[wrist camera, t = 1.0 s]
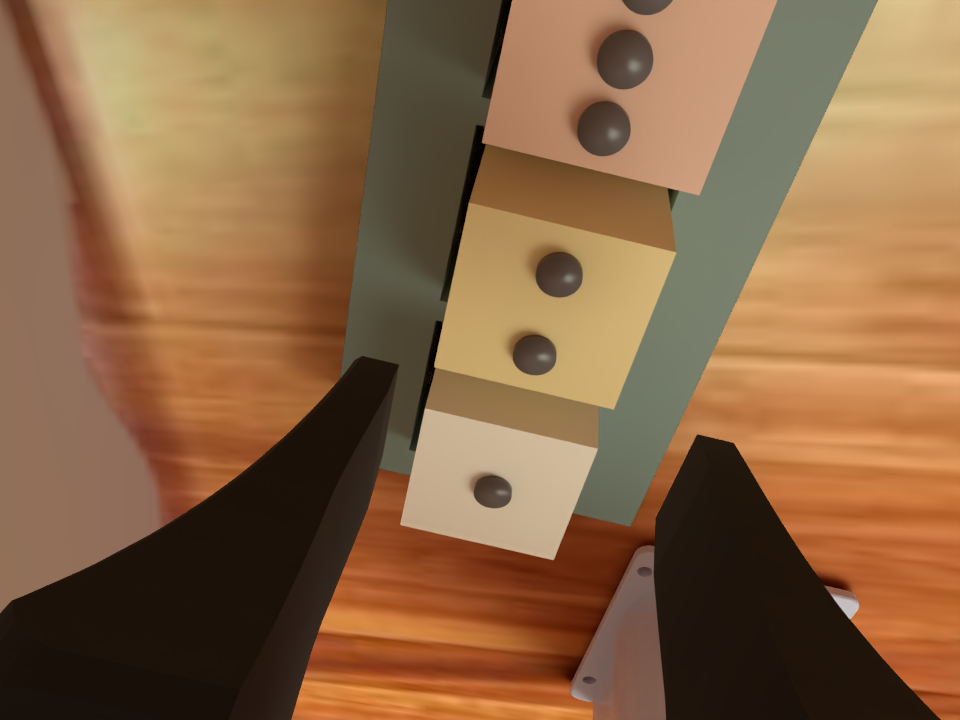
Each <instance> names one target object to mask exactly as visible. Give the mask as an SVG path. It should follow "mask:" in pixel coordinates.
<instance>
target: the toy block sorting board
mask: <svg viewBox="0 0 960 720" xmlns="http://www.w3.org/2000/svg"><path fill="white" fill-rule="evenodd" d="M877 1H878V0H777V3H776V5H775V8H774V10H773V13H772V15H771V18H770V20H769V23H768V25H767V28H766V30H765V33H764V35H763V38H762V40H761V43H760V45H759V48H758V50H757V53H756V55H755V58H754V60H753V63H752V65H751V68H750V70H749V73H748V75H747V78H746V80H745V83H744V85H743V88H742V90H741V93H740V95H739V98H738V100H737V103H736V105H735V108H734V110H733V113H732V115H731V118H730V120H729V123H728V125H727V128H726V130H725V133H724V135H723V138H722V140H721V143H720V145H719V148H718V150H717V153H716V155H715V158H714V160H713V163H712V165H711V168H710V170H709V173H708V175H707V178H706V180H705V183H704V185H703V188H702V190H701V193H700V195H695V194H691V193H687V192H683V191H679V190H675V189H670V188H668V194H669V202H670V209H671V216H672V223H673V230H674V237H675V245H676V252H677V253H676V255H675V258H674V260H673V263H672V265H671V268H670V270H669V273H668V275H667V278H666V280H665V283H664V285H663V288H662V290H661V293H660V295H659V298H658V300H657V303H656V305H655V308H654V310H653V313H652V315H651V318H650V320H649V323H648V325H647V328H646V330H645V333H644V335H643V338H642V340H641V343H640V345H639V348H638V350H637V353H636V355H635V358H634V360H633V363H632V365H631V368H630V370H629V373H628V375H627V378H626V380H625V383H624V385H623V388H622V390H621V393H620V395H619V398H618V400H617V403H616V405H615V408H614V410H613V409H609V408H605V407H601V406H599V412H598V450H597V453H596V455H595V458H594V460H593V463H592V465H591V468H590V470H589V473H588V475H587V478H586V480H585V483H584V485H583V488H582V490H581V493H580V496H579V498H578V501H577V503H576V506H575V508H574V511H573V514H577V515H581V516H586V517H590V518H594V519H599V520H603V521H607V522H612V523H616V524H620V525H625V526H629V527H631V524H632V522H633V520H634V518H635V516H636V514H637V512H638V510H639V507H640V505H641V503H642V501H643V499H644V497H645V495H646V493H647V490H648V488H649V486H650V484H651V482H652V480H653V478H654V476H655V473H656V471H657V469H658V467H659V465H660V463H661V461H662V459H663V456H664V454H665V452H666V450H667V448H668V446H669V444H670V442H671V439H672V437H673V435H674V433H675V431H676V429H677V427H678V424H679V422H680V420H681V418H682V416H683V414H684V412H685V410H686V407H687V405H688V403H689V401H690V399H691V397H692V395H693V393H694V390H695V388H696V386H697V384H698V382H699V380H700V378H701V376H702V373H703V371H704V369H705V367H706V365H707V363H708V361H709V359H710V356H711V354H712V352H713V350H714V348H715V346H716V344H717V342H718V339H719V337H720V335H721V333H722V331H723V329H724V327H725V325H726V322H727V320H728V318H729V316H730V314H731V312H732V310H733V308H734V305H735V303H736V301H737V299H738V297H739V295H740V293H741V290H742V288H743V286H744V284H745V282H746V280H747V278H748V276H749V273H750V271H751V269H752V267H753V265H754V263H755V261H756V259H757V256H758V254H759V252H760V250H761V248H762V246H763V244H764V242H765V239H766V237H767V235H768V233H769V231H770V229H771V227H772V225H773V222H774V220H775V218H776V216H777V214H778V212H779V210H780V208H781V205H782V203H783V201H784V199H785V197H786V195H787V193H788V191H789V188H790V186H791V184H792V182H793V180H794V178H795V176H796V174H797V171H798V169H799V167H800V165H801V163H802V161H803V159H804V156H805V154H806V152H807V150H808V148H809V146H810V144H811V142H812V139H813V137H814V135H815V133H816V131H817V129H818V127H819V125H820V122H821V120H822V118H823V116H824V114H825V112H826V110H827V108H828V105H829V103H830V101H831V99H832V97H833V95H834V93H835V91H836V88H837V86H838V84H839V82H840V80H841V78H842V76H843V74H844V71H845V69H846V67H847V65H848V63H849V61H850V59H851V57H852V54H853V52H854V50H855V48H856V46H857V44H858V42H859V40H860V37H861V35H862V33H863V31H864V29H865V27H866V25H867V22H868V20H869V18H870V16H871V14H872V12H873V10H874V8H875V5H876V3H877ZM507 3H508V0H388V3H387V11H386V19H385V26H384V34H383V42H382V50H381V58H380V66H379V74H378V82H377V90H376V98H375V105H374V113H373V121H372V129H371V137H370V145H369V153H368V161H367V169H366V177H365V184H364V192H363V200H362V208H361V216H360V224H359V232H358V240H357V248H356V256H355V263H354V271H353V279H352V287H351V295H350V303H349V311H348V319H347V327H346V335H345V343H344V350H343V358H342V366H341V374H340V378H341V377H342V376H343V375H344V373H345V372H346V371H347V370H348V368H349V367H350V366H351V364H352V363H353V361H354V360H355V359H357V358H359V357H361V356H365V357H369V358H374V359H378V360H382V361H386V362H391V363H395V364H399V369H398V374H397V380H396V385H395V391H394V396H393V402H392V407H391V413H390V418H389V424H388V429H387V435H386V440H385V446H384V452H383V456H382V460H381V463H380V467H379V469H383V470H387V471H391V472H396V473H400V474H404V475H409V476H411V471H412V467H413V462H414V457H415V453H416V448H417V443H418V439H419V434H420V429H421V425H422V420H423V415H424V411H425V406H426V403H427V399H428V395H429V392H430V388H431V386H429V385H427V382H428V377H429V373H430V368H431V363H432V358H433V354H434V349H435V344H436V339H437V335H438V330H439V325H440V321H441V322H444V317H445V312H446V308H447V303H448V298H449V294H450V289H451V284H452V280H453V275H454V270H455V266H456V261H457V256H458V252H459V247H460V243H459V242H457V240H458V235H459V230H460V226H461V221H462V216H463V211H464V207H465V202H466V197H467V192H468V188H469V183H470V178H471V173H472V169H473V164H474V159H475V154H476V150H477V145H478V140H479V135H480V131H481V126H485V125H486V121H487V116H488V111H489V107H490V102H491V97H492V93H493V88H494V83H495V78H496V74H497V69H498V64H499V60H500V55H499V54H497V50H498V45H499V40H500V36H501V31H502V26H503V22H504V17H505V12H506V7H507Z"/></svg>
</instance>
